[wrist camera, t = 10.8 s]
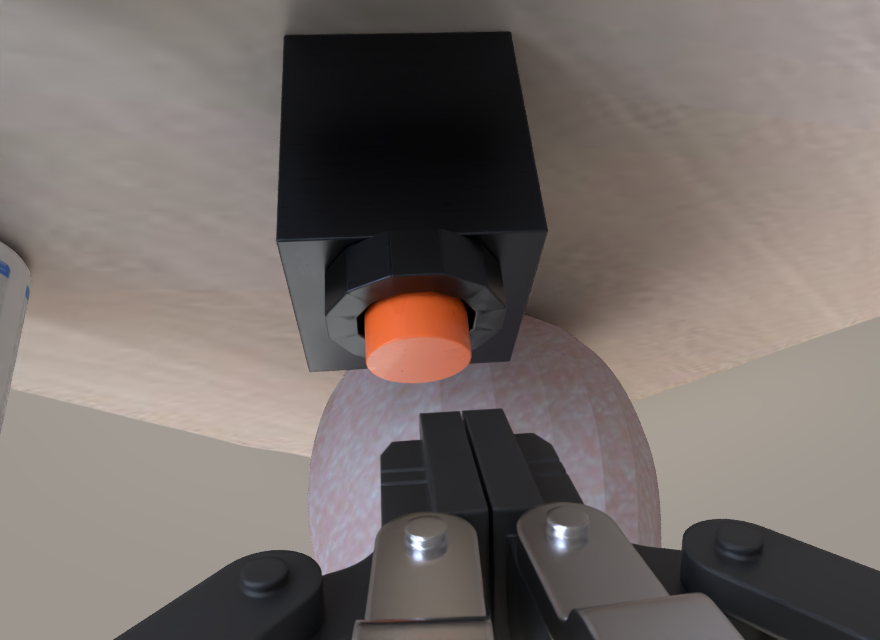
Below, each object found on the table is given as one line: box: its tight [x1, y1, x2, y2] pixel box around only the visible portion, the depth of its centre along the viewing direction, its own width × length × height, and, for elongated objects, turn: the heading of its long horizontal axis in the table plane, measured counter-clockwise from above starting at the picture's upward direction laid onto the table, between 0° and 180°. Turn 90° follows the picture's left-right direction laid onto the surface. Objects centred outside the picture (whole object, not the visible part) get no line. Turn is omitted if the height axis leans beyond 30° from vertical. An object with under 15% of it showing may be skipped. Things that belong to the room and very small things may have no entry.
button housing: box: [276, 32, 548, 372], centre depth 34 cm, size 10×11×13 cm
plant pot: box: [308, 314, 661, 575], centre depth 50 cm, size 24×24×30 cm
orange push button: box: [364, 292, 472, 383], centre depth 28 cm, size 4×4×2 cm
